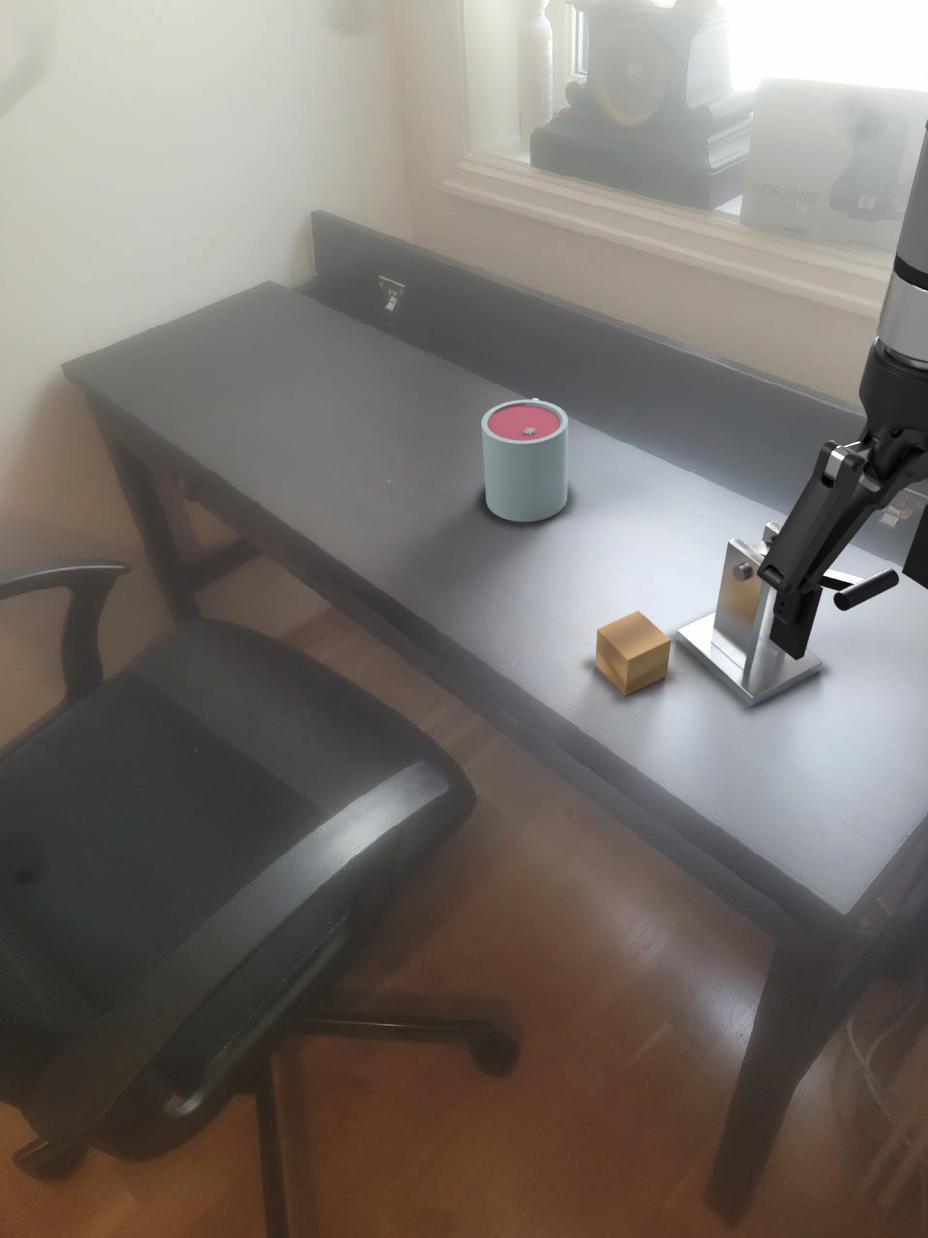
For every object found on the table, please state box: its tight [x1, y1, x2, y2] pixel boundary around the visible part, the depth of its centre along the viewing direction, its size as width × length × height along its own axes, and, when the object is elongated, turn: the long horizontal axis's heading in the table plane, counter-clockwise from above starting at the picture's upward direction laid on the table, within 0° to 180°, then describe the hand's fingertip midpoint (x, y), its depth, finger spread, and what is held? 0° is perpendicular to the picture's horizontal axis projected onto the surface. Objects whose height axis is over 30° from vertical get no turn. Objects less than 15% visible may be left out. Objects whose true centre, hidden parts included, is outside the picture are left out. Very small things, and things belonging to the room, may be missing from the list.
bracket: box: [675, 520, 823, 708], centre depth 75 cm, size 10×8×13 cm
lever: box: [749, 540, 900, 612], centre depth 67 cm, size 12×5×2 cm, turn 29°
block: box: [594, 610, 672, 697], centre depth 77 cm, size 5×5×5 cm
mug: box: [480, 397, 569, 523], centre depth 97 cm, size 14×9×10 cm
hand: (854, 613), depth 65 cm, fingers open, 13 cm apart
